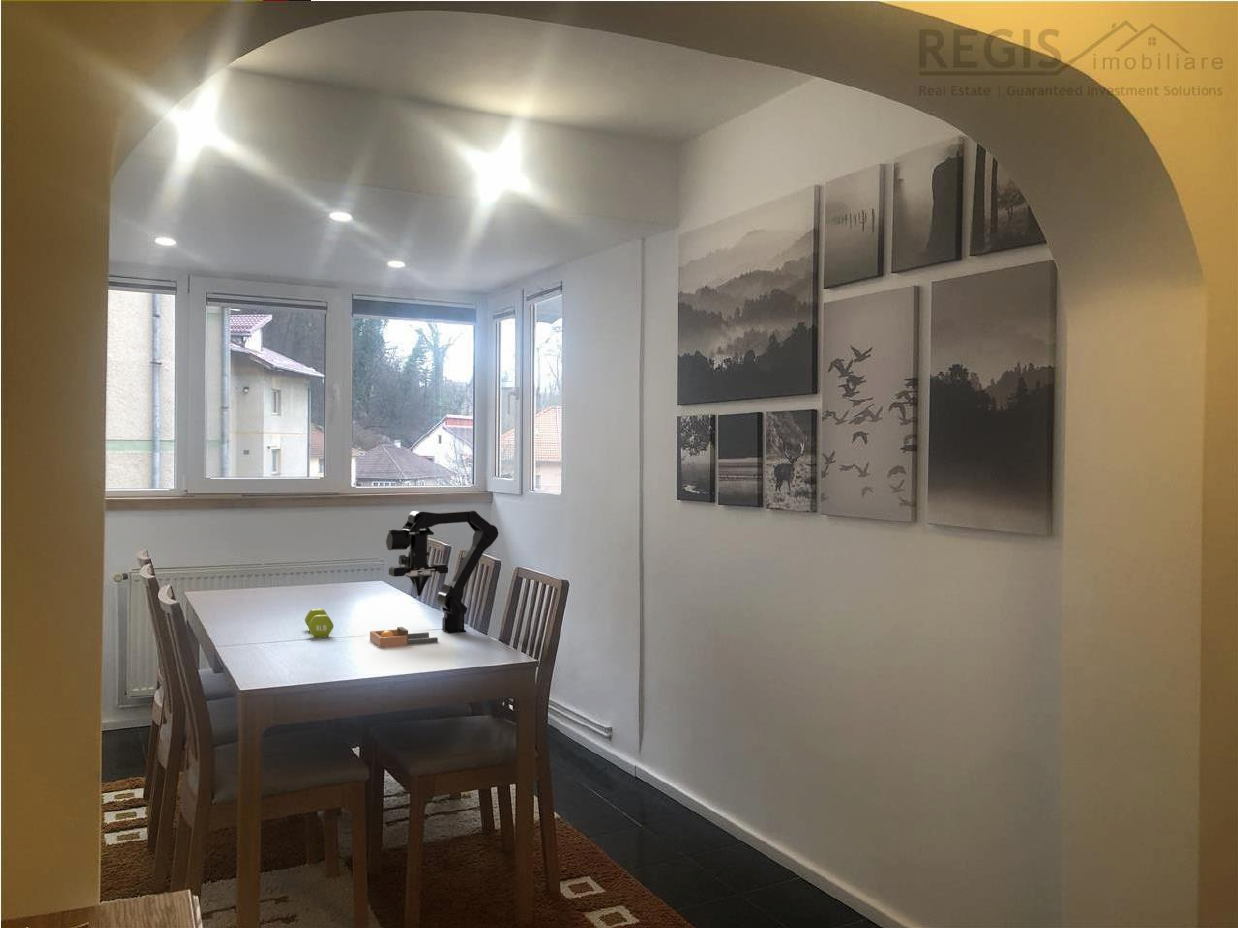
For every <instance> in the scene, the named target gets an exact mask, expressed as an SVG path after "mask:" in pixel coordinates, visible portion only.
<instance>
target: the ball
mask: <svg viewBox="0 0 1238 928" xmlns="http://www.w3.org/2000/svg"><path fill="white" fill-rule="evenodd" d="M393 636H394V635H393V633H392V632H391V631H384V632H383V633H382V634H381V637H393Z"/></svg>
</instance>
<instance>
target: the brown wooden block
mask: <svg viewBox="0 0 1238 928" xmlns="http://www.w3.org/2000/svg"><path fill="white" fill-rule="evenodd" d="M396 630H397V636H407V640H408V634H409V629H406V628H404V627H403V626H397V627H396Z"/></svg>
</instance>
